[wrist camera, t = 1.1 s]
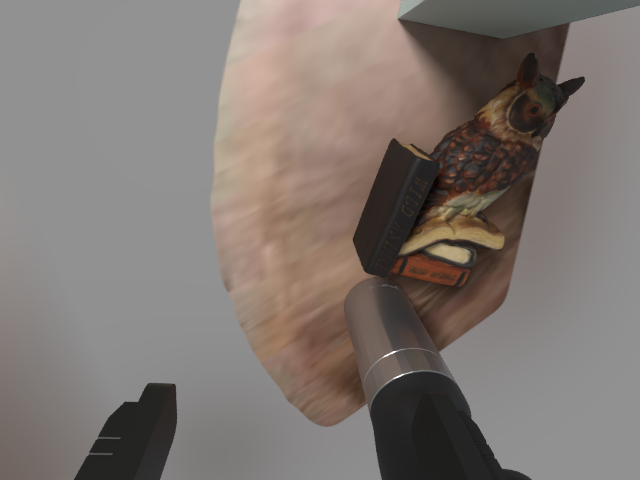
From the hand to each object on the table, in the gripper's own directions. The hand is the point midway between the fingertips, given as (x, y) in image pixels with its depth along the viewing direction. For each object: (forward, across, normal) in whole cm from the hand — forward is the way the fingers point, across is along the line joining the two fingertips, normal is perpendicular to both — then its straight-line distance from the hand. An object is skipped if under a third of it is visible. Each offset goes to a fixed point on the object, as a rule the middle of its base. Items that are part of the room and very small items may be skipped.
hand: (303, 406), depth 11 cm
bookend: (+33, +18, +3) cm, 37 cm away
